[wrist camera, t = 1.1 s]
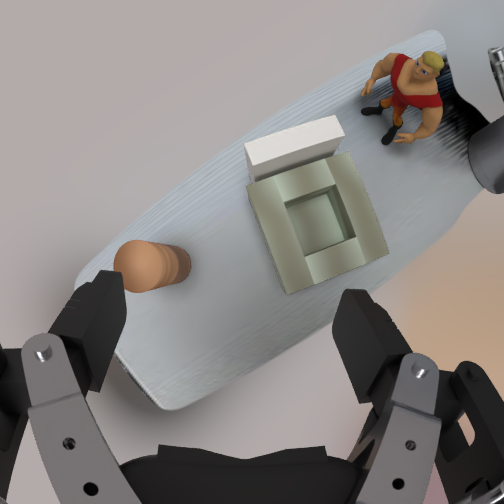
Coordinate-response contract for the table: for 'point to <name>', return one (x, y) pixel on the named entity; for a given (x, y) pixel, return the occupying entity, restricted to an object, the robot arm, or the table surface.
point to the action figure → (409, 92)
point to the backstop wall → (292, 148)
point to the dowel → (151, 265)
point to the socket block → (317, 221)
